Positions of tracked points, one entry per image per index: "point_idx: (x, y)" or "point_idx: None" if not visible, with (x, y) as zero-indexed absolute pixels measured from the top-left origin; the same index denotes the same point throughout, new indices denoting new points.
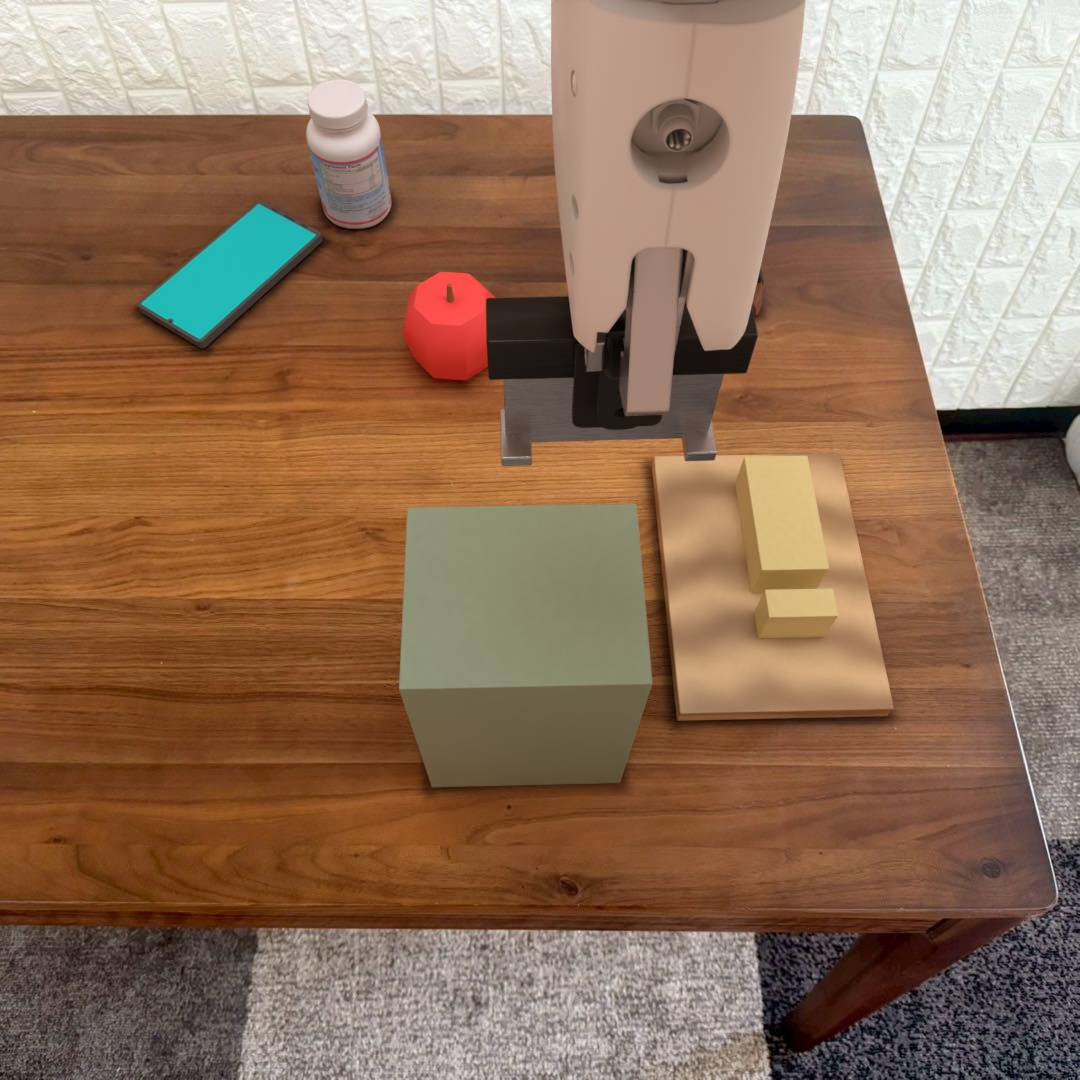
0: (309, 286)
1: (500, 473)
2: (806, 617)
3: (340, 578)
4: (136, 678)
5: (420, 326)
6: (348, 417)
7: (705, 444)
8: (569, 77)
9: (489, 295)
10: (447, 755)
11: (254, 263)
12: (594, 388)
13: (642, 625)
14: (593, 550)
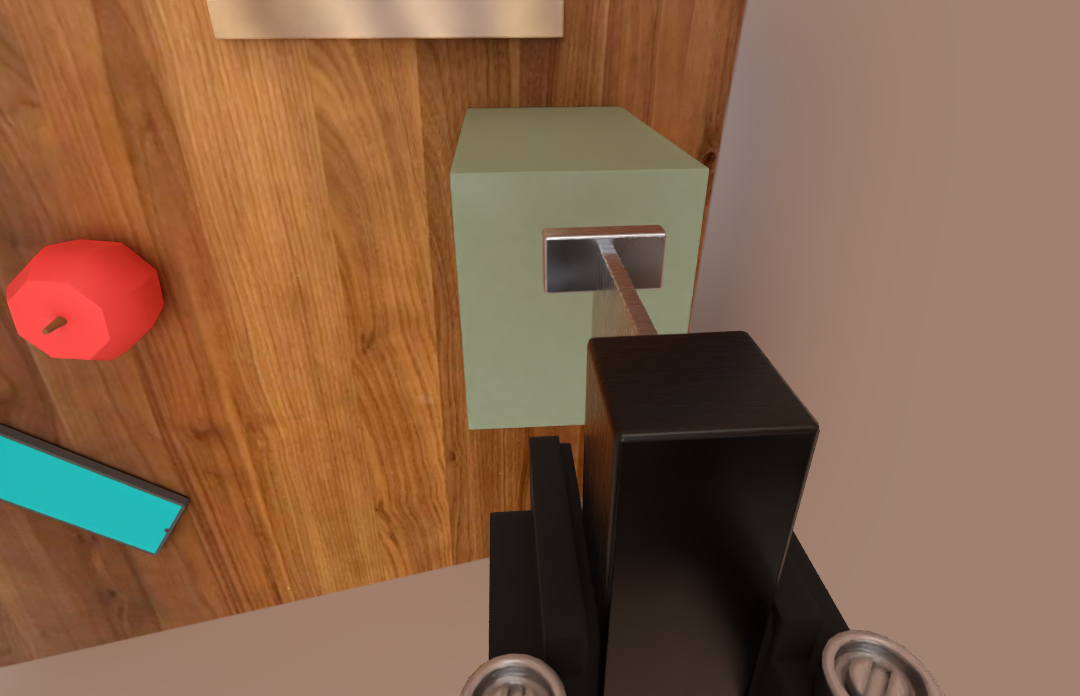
0: (73, 427)
1: (274, 226)
2: None
3: (417, 364)
4: (513, 485)
5: (115, 346)
6: (236, 375)
7: (647, 254)
8: None
9: (33, 274)
10: None
11: (65, 480)
12: None
13: (631, 176)
14: (524, 233)
